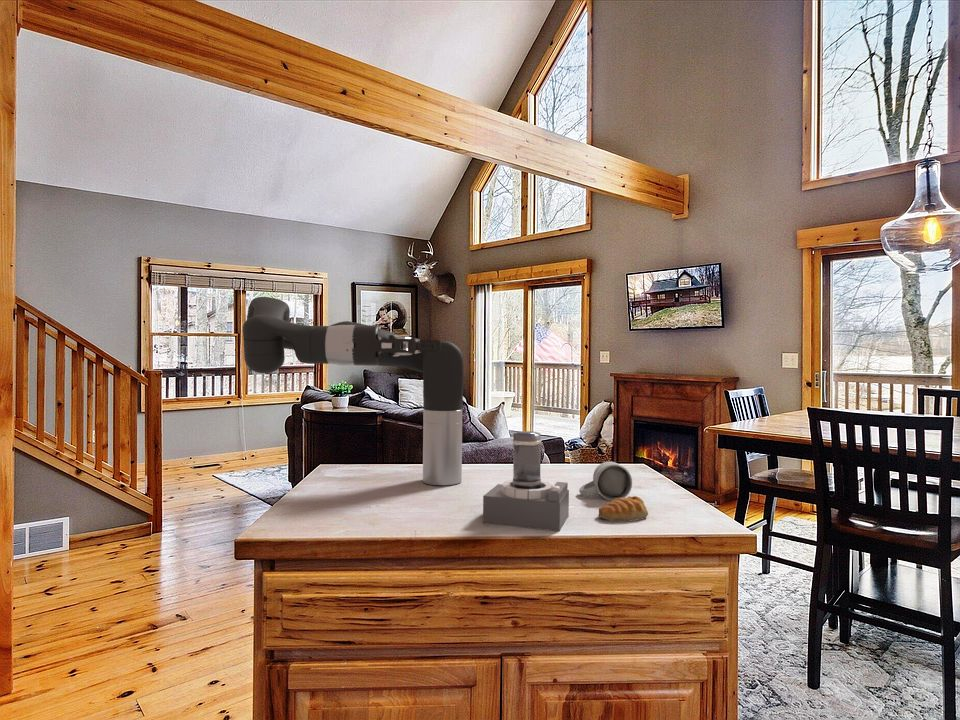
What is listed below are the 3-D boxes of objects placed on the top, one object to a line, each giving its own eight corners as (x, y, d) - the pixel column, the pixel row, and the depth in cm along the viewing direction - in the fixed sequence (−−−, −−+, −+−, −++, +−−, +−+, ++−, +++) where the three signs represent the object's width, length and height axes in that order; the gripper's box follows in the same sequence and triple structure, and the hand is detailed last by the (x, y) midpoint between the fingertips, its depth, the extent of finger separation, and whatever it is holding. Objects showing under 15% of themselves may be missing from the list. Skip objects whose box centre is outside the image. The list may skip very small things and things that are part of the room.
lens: (516, 488, 115) (516, 430, 114) (543, 490, 113) (543, 431, 113) (509, 494, 110) (509, 433, 109) (537, 497, 108) (537, 435, 108)
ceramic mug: (624, 492, 134) (624, 458, 134) (632, 501, 126) (632, 465, 126) (576, 492, 134) (576, 458, 134) (581, 501, 126) (581, 465, 126)
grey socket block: (497, 509, 118) (498, 472, 118) (568, 516, 114) (569, 477, 114) (482, 523, 109) (483, 483, 109) (559, 531, 105) (560, 489, 105)
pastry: (614, 526, 109) (614, 505, 109) (589, 517, 115) (589, 497, 115) (651, 519, 114) (651, 499, 114) (625, 511, 120) (625, 491, 119)
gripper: (359, 364, 119) (441, 365, 120) (346, 366, 105) (439, 367, 105) (359, 326, 119) (441, 327, 120) (347, 323, 105) (440, 324, 105)
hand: (440, 346), depth 113 cm, fingers open, 8 cm apart
